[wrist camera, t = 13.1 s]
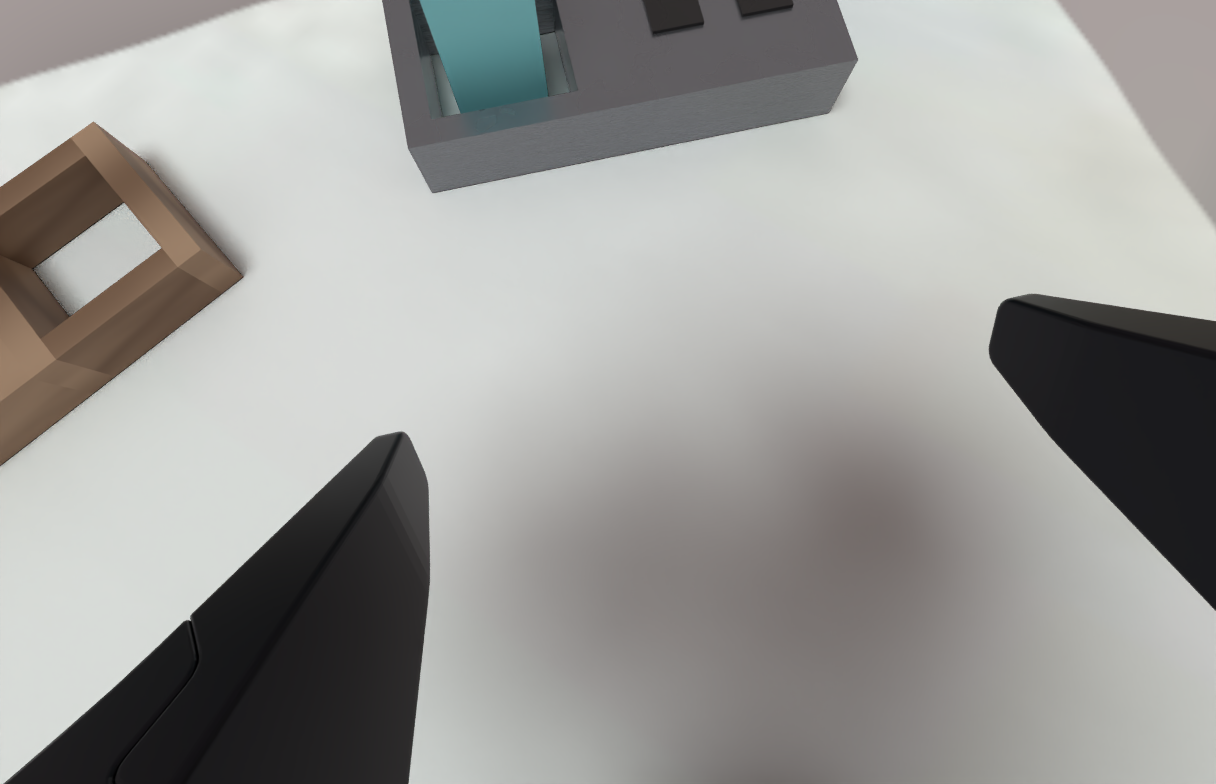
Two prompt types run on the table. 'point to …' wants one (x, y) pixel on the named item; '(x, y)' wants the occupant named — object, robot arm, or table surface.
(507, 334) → the table surface
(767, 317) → the table surface
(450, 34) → the plug
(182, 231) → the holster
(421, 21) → the port block
